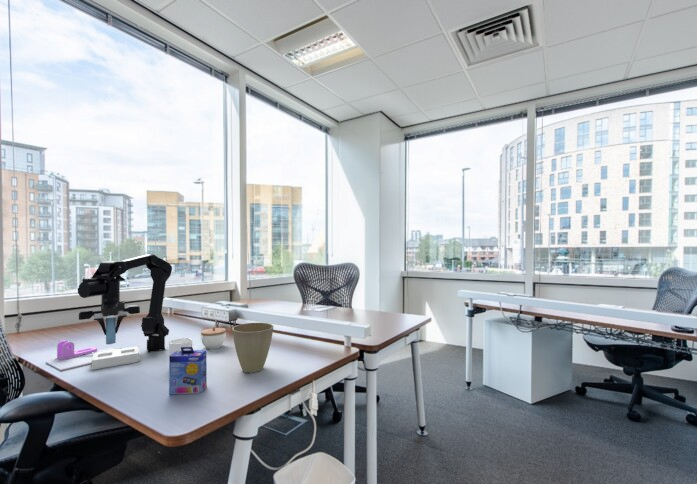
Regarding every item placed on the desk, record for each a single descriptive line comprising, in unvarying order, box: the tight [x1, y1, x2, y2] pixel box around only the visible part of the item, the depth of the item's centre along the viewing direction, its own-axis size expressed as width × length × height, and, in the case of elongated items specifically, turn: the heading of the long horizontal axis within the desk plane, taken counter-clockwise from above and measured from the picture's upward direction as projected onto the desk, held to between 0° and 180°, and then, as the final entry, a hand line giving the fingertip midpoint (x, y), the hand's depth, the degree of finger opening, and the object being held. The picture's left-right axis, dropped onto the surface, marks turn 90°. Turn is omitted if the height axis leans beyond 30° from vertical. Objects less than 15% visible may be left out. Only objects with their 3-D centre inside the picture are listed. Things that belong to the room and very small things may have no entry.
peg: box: [105, 316, 117, 345], centre depth 124 cm, size 3×3×10 cm
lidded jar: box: [200, 326, 227, 350], centre depth 149 cm, size 11×11×9 cm
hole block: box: [91, 345, 140, 371], centre depth 130 cm, size 15×11×4 cm
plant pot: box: [232, 322, 274, 374], centre depth 121 cm, size 15×15×16 cm
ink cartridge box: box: [168, 346, 208, 395], centre depth 103 cm, size 10×6×14 cm, turn 95°
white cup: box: [168, 337, 193, 356], centre depth 124 cm, size 8×8×10 cm
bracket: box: [56, 339, 98, 360], centre depth 140 cm, size 13×6×7 cm, turn 151°
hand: (110, 334), depth 124 cm, fingers closed on peg, 3 cm apart
